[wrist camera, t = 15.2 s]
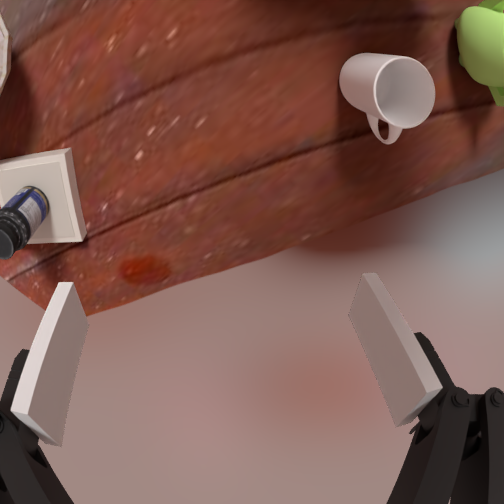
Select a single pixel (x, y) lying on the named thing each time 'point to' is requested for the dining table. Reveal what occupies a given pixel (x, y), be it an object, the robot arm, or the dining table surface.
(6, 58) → the bowl
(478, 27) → the teapot
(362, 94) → the mug
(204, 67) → the dining table surface
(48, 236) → the square plate
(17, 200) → the pill bottle
